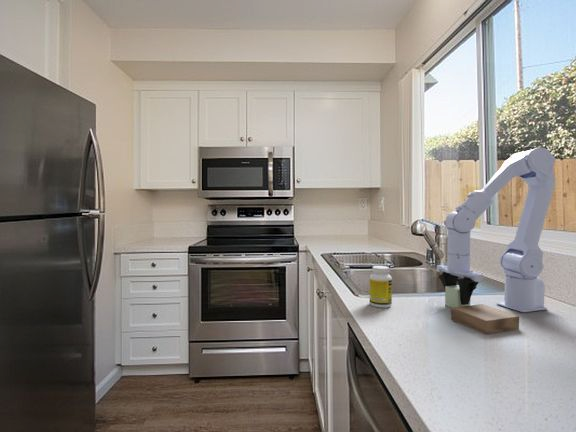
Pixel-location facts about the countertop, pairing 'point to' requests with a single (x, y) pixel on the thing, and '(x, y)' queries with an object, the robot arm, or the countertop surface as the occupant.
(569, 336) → the countertop surface
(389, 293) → the pill bottle
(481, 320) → the walnut base
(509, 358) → the countertop surface
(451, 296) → the sage cube
